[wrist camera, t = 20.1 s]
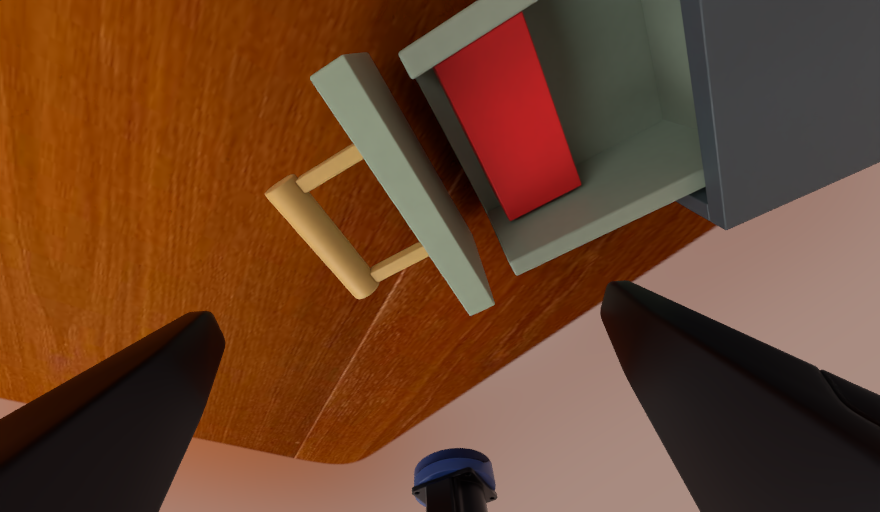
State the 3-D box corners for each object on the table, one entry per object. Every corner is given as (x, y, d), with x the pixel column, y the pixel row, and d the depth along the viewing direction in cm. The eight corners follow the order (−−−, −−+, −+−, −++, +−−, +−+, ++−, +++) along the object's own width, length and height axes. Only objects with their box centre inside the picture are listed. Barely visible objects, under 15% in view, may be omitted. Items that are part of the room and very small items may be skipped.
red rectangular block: (560, 167, 17) (582, 185, 15) (497, 200, 18) (510, 222, 16) (504, 15, 14) (522, 9, 12) (429, 63, 14) (433, 66, 12)
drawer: (385, 280, 21) (377, 359, 16) (261, 122, 16) (186, 160, 11) (670, 134, 18) (782, 172, 12) (623, -121, 13) (778, -244, 7)
